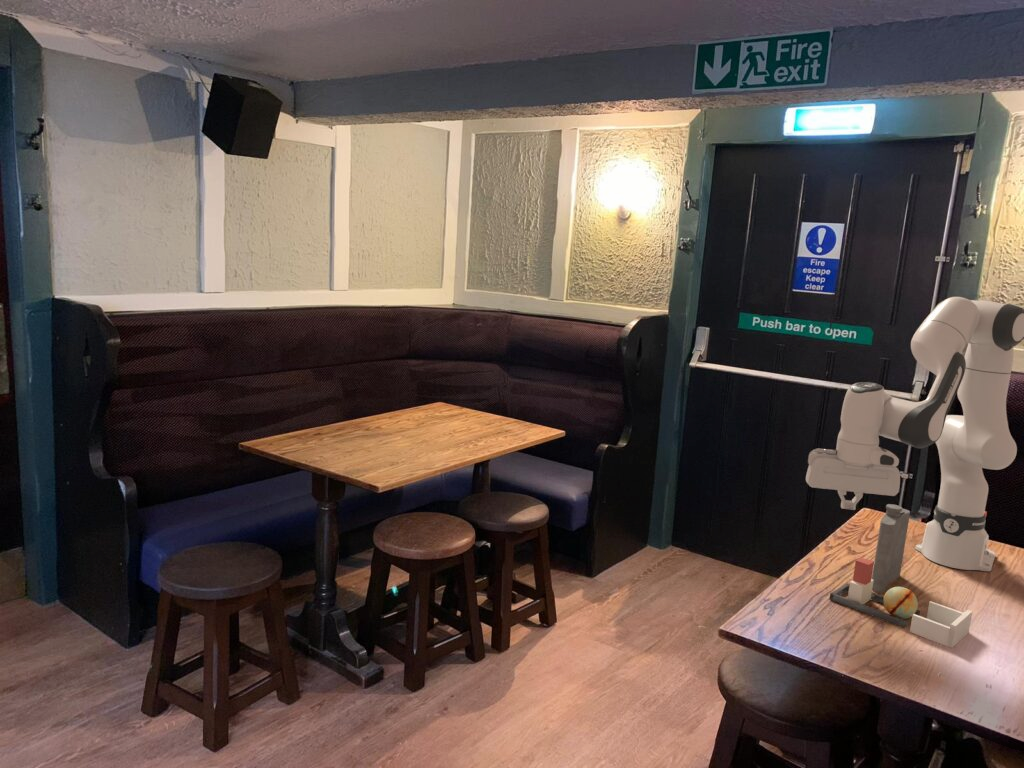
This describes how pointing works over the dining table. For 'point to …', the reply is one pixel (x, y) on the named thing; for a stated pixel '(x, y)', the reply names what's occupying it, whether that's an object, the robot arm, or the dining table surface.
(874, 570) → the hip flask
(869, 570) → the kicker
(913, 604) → the ball
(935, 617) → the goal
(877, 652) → the dining table surface
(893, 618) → the dark grey rectangular frame
